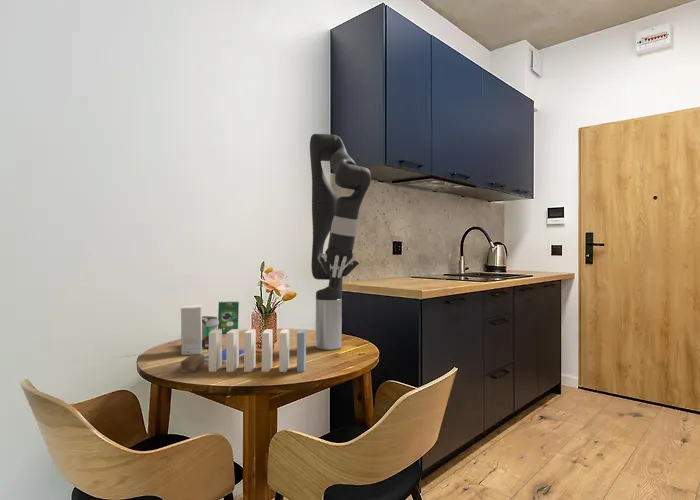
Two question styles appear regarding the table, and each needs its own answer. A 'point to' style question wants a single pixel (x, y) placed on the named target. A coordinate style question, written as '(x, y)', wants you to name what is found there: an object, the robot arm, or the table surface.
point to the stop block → (192, 363)
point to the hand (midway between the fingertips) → (333, 288)
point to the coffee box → (228, 316)
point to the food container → (208, 329)
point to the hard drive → (224, 355)
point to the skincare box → (191, 330)
